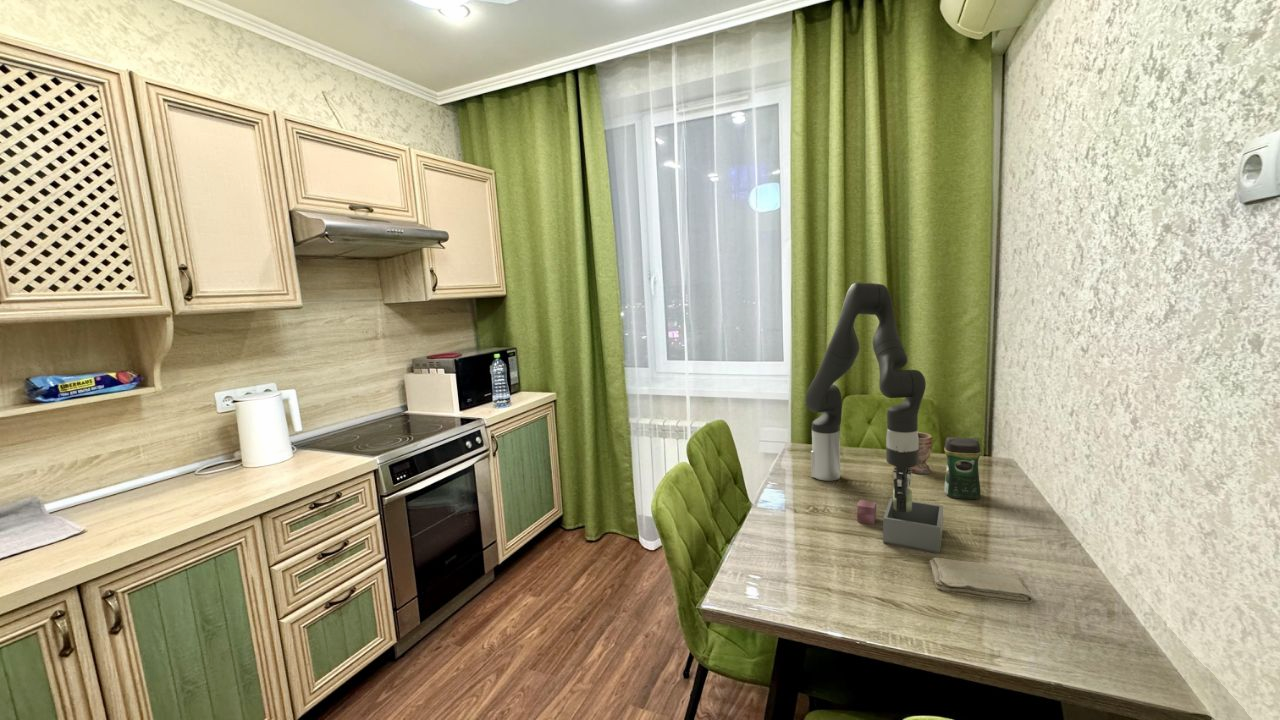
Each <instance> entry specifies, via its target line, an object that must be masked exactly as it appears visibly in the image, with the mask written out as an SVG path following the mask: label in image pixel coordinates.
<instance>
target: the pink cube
mask: <svg viewBox="0 0 1280 720" xmlns="http://www.w3.org/2000/svg"><path fill="white" fill-rule="evenodd" d="M856 510H857V511H856V514H857V515H856V519H857V520H856V522H858V523H864V524H867V525H868V524H869V525H874V524H875V522H876V520H877V502H876V501H870V500H865V499H859V501H858V503H857V505H856Z"/></svg>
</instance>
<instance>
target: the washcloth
mask: <svg viewBox="0 0 1280 720" xmlns="http://www.w3.org/2000/svg"><path fill="white" fill-rule="evenodd" d="M928 563H929V564H930V565H931V573H932V576H933V580H934V584H935V586H936V589H938V590H941V591H943V592H947V593H952V594H958V595H963V596H971V597H977V598H983V599H991V600H992V599H993V600H1000V601H1007V602H1011V603H1019V604H1020V603H1021V604H1031V603H1032V602H1033V601H1034V599H1033V596H1032V595H1031V592H1029V590H1028V589H1027V587H1025V585H1024V584H1023V580H1022V577H1020V575H1019V573H1018V572H1017V570H1016V569H1014V568H1013V567H1009V566H1002V565H993V564H988V563H982V562H974V561H973V562H972V561H966V560H958V559H950V558H949V559H948V558H944V557H943V558H942V557H932V559H930V560H929V562H928Z"/></svg>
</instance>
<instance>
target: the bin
mask: <svg viewBox="0 0 1280 720" xmlns="http://www.w3.org/2000/svg"><path fill="white" fill-rule="evenodd" d="M882 519H883V520H882V524H883V525H882V526H883V527H882V531H883V532H882V533H883V535H882V536H883V537H882V539H883V541H882V543H883V544H887V545H892V546H897V547H903V548H908V549H913V550H919V551H924V552H928V553H932V554H933V553H934V554H939V555H940V554H941V547H942V540H943V539H942V538H943V532H944V531H943V530H944V527H943V526H944V525H943V524H944V523H943V522H944V505H942V504H941V505H940V504H935V503H934V504H933V503H927V502H922V501H913V500H912V511H910V512H898V511H896V510H895V509H894V508H893V497H890V498H889V501H888V504H887V506H886V509H885V511H884V515H883V518H882Z"/></svg>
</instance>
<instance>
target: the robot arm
mask: <svg viewBox="0 0 1280 720" xmlns="http://www.w3.org/2000/svg"><path fill="white" fill-rule="evenodd" d="M890 294H891V293H890V292H889V288H887V286H886V285H884V284H882V283H876V282H875V283H871V282H854V283H852V284H851V285H850V287H849V288H848V289H847V292H846V294H845V297H844V300H843V305H842V307H841V311H840V315H839V318H838V321H837V323H836V327H835V329H834V331H833V333H832V336H831V338H830V341H829V343H828V346H827V348H826V350H825V353H824V356H823V359H822V361H821V364H820V366H819V367H818V370H817V372H816V374H815V376H814V378H813V380H812V381H811V383H810V385H809V386H808V389H807V391H806V394H805V406H806V408H807V409H808V410H809V411H811V412H812V413H822V414H821V415H820V416H819V417H816V418H815V419H814V420H813V421H812V422H811V438H812V439H811V446H812V450H810V473H811V476H810V477H811V478H814V479H817V480H820V481H825V482H826V481H827V482H831V481H837V480H839V479H840V478H841V450H840V449H841V448H840V445H841V443H840V441H841V439H840V426H841V423H842V407H843V398H842V392H841V390H840V388H839V387H838V385H836V384H834V383H836V381H838V380H839V379H840V378H841V377H843V376H844V375H845V374H846V373H847V372H849V370H850V369H851V368H852V367H853V365H854V363H855V361H856V359H857V357H858V354H859V352H860V342H859V338H858V336H857V333H856V330H855V327H854V325H855V321H856V318H857V316H858V315H872V316H873V315H875V316H876V317H877V319H878V325H877V329H876V330H875V332H874V335H873V338H872V348H873V352H874V355H875V357H876V360H877V362H878V369H879V383H878V387H879V391H880V392H881V394H882V395H883V396H885V397H886V398H888V399H898V398H899V399H901V398H904V400H903V401H902V402H901V403H899V404H896V405H892V406H890V407H888V409H887V412H886V424H887V426H886V427H887V428H886V435H885V436H886V438H885V439H886V441H885V447H886V449H885V450H886V453H885V454H886V455H885V456H886V457H885V458H886V459H885V460H886V462H887V464H889V465H891V466H894V470H893V472H892V477H893V487H894V488H893V489H894V490H895V495H894V497H895V498H897V511H898V512H906V498H907V490H908V489H910V485H911V481H912V480H911V479H912V472H911V469H910V467H914V466H916V465H918V463H919V438H918V432H919V429H918V428H919V427H918V426H919V425H918V417H919V416H918V415H919V410H920V406H921V403H922V400H923V397H924V394H925V390H926V386H927V385H926V384H927V383H926V378H925V376H924V375H923V373H922V372H921V371H919V370H917V369H904V370H903V369H902V368H904V367H905V366H906V365H907V364H908V356H907V352H906V351H905V348H904V345H903V344H902V342H901V338H900V336H899V333H898V330H897V324H896V319H895V313H894V307H893V303H892V297H891V295H890ZM898 492H902V493H903V494H899V493H898Z"/></svg>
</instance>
